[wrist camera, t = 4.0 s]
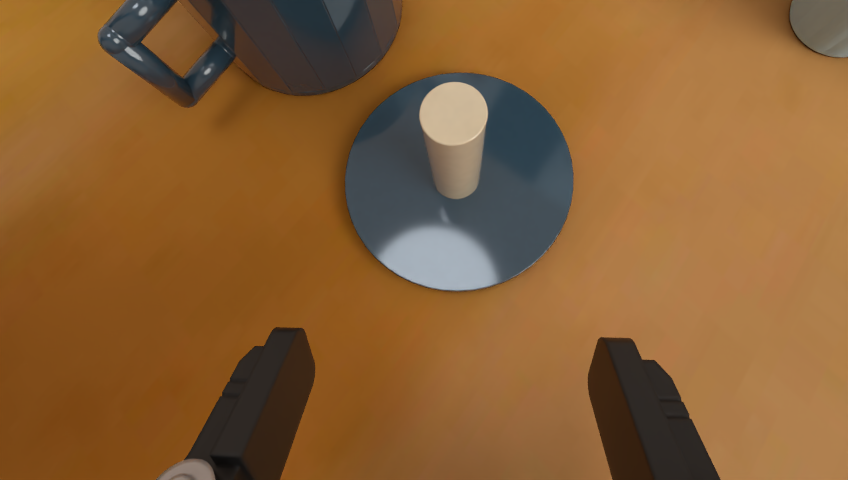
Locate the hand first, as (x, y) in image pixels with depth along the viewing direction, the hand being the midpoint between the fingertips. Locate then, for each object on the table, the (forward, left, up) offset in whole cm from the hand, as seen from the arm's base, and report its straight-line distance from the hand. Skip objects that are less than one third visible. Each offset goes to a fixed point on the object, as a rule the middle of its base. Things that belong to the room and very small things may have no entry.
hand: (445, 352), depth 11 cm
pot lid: (+7, +5, -12) cm, 15 cm away
